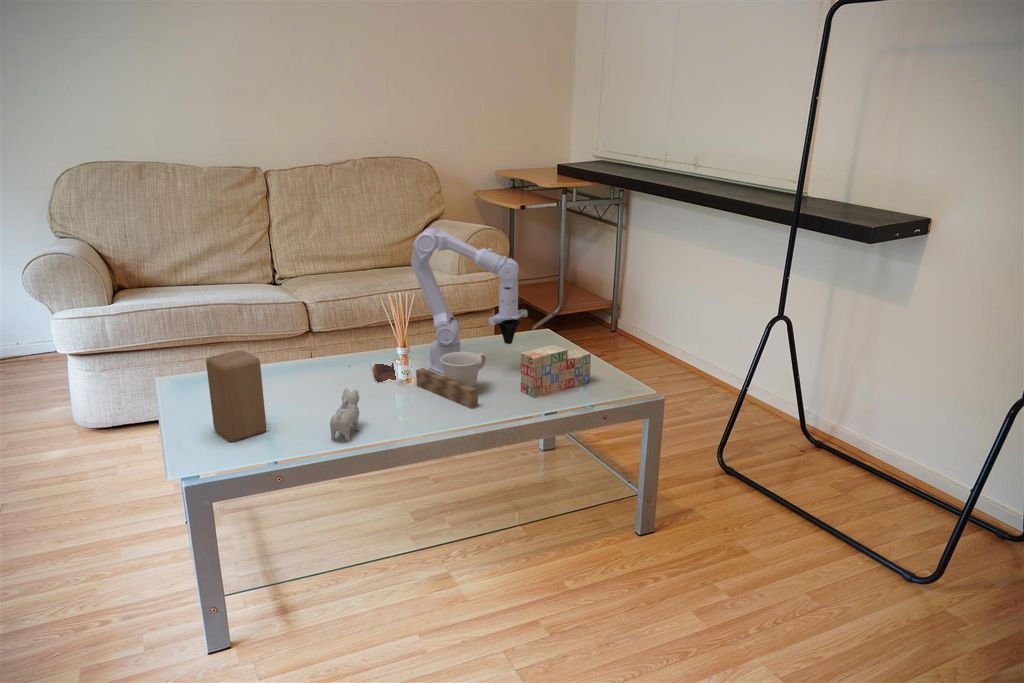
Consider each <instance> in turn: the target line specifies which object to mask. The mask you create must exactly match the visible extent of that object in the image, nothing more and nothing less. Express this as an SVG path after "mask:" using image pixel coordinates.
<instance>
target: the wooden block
mask: <svg viewBox="0 0 1024 683" xmlns="http://www.w3.org/2000/svg"><path fill="white" fill-rule="evenodd" d="M205 364H206V371H207V372H206V373H207V374H206V375H207V381H208V389H209V396H210V404H211V406H210V407H211V415H212V420H213V421H212V423H213V429H214V432H216V433H217V434H218V435H220V436H222V437H223V438H224V439H226V440H227V441H229V442H236V441H239V440H243V439H246V438H250V437H252V436H256V435H259V434H261V433H265V432H266V431H267V420H266V409H265V408H266V407H265V398H264V388H263V387H264V386H263V377H262V368H261V360H260V358H259V357H257V356H256V355H253V354H252V353H249V352H247V351H245V350H243V349H238V350H235V351H231V352H226V353H221V354H217V355H212V356H209V357H206V359H205Z"/></svg>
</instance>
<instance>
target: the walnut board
mask: <svg viewBox="0 0 1024 683" xmlns="http://www.w3.org/2000/svg"><path fill="white" fill-rule="evenodd" d="M415 371H416V373H415V374H416V376H415V377H416V387H418V388H421V389H423V390H426V391H429V392H431V393H432V394H435V395H437V396H439V397H443V398H445V399H447V400H449V401H452V402H454V403H457V404H459V405H461V406H463V407H467V408H468V409H471V410H472V409H474V408H477V407H479V391H478V390H479V388H475V387H474V386H473V387H471V386H468V385H465V384H463V383H460V382H458V381H455V380H451V379H448V378H446V377H445V376H444V375H443V374H441V373H437V372H436V371H435V372H434V371H433V370H431V369H430V370H429V369H427V368H424V367H421V368H417V369H416V370H415Z"/></svg>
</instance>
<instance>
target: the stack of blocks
mask: <svg viewBox="0 0 1024 683" xmlns="http://www.w3.org/2000/svg"><path fill="white" fill-rule="evenodd" d="M520 356H521V357H520V392H521V393H522V394H525V395H527V396H529V397H531V398H533V399H535V398H538V397H543V396H547V395H551V394H554V393H559V392H561V391H564V390H568V389H571V388H570V387H572V388H575V387H574V386H576V387H579V386H582V384H583V385H586V384H585V383H587V384H589V382H591V365H592V364H591V356H592V355H591V353H589V352H587V351H585V350H582V349H578V348H574V349H571V350H568V349H567V348H564V347H561V346H558V345H557V344H551V345H547V346H543V347H539V348H534V349H532V350H526V351H523V352H521V353H520ZM578 385H579V386H578ZM567 388H568V389H567Z"/></svg>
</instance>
